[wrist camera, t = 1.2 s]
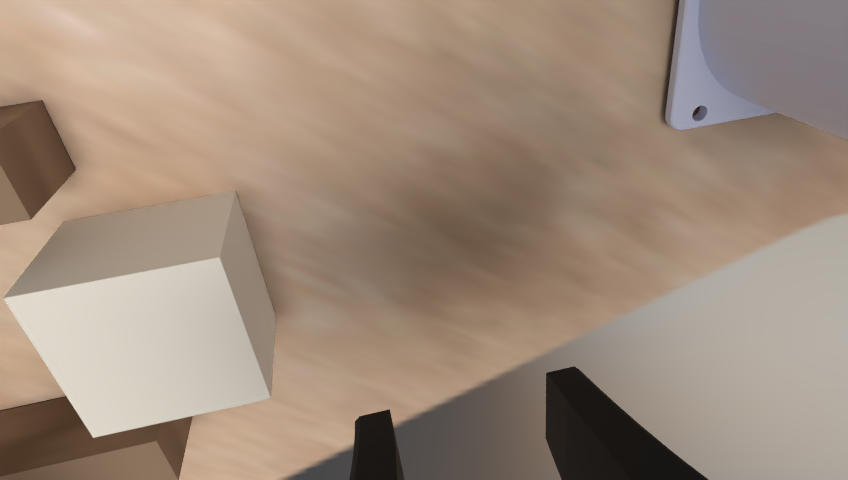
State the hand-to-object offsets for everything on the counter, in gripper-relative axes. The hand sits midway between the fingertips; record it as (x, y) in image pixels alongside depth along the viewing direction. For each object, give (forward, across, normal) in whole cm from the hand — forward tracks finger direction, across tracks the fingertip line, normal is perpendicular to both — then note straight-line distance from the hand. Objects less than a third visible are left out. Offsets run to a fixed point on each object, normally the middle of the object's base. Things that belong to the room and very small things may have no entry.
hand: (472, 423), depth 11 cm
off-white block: (+9, +8, 0) cm, 11 cm away
